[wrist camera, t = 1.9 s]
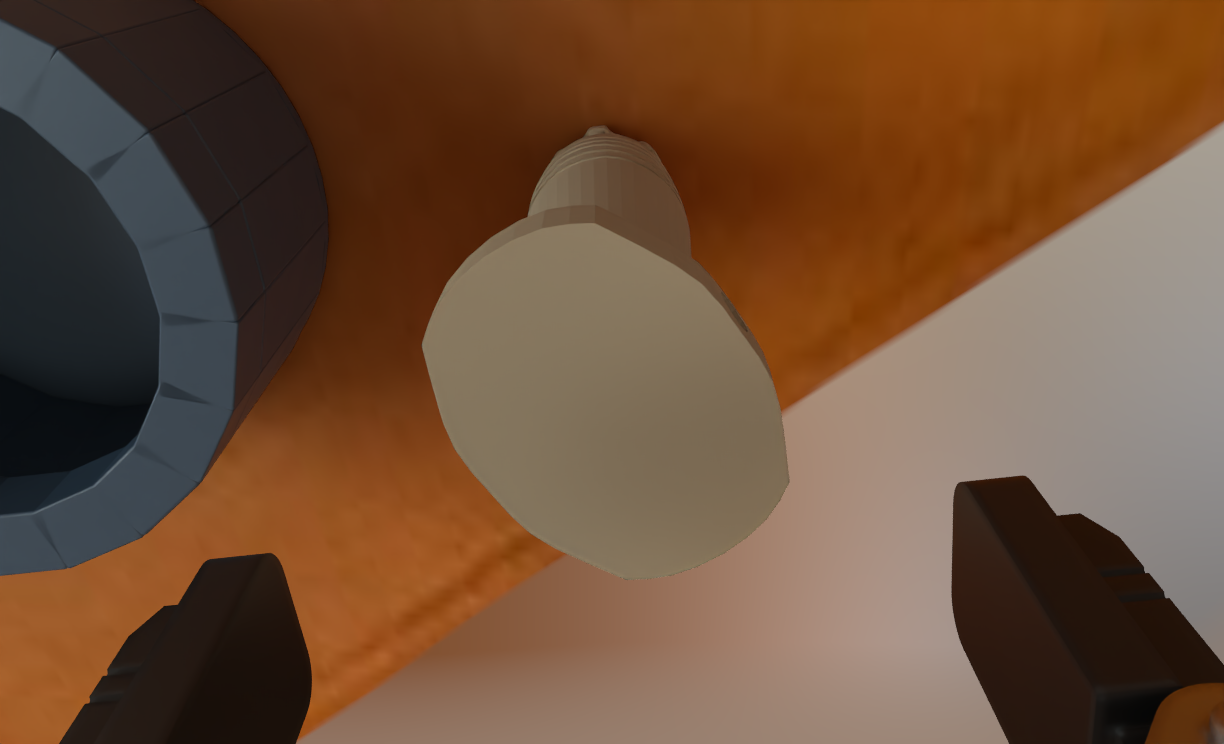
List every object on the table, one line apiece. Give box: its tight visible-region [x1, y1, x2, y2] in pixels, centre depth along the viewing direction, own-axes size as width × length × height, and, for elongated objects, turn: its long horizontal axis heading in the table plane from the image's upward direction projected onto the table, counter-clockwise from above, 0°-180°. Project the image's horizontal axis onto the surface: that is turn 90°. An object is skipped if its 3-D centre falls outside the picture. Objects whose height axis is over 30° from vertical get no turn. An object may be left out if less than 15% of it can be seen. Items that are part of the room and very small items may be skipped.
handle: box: [422, 125, 789, 580], centre depth 23 cm, size 5×6×15 cm
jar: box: [0, 0, 329, 576], centre depth 26 cm, size 14×14×8 cm
